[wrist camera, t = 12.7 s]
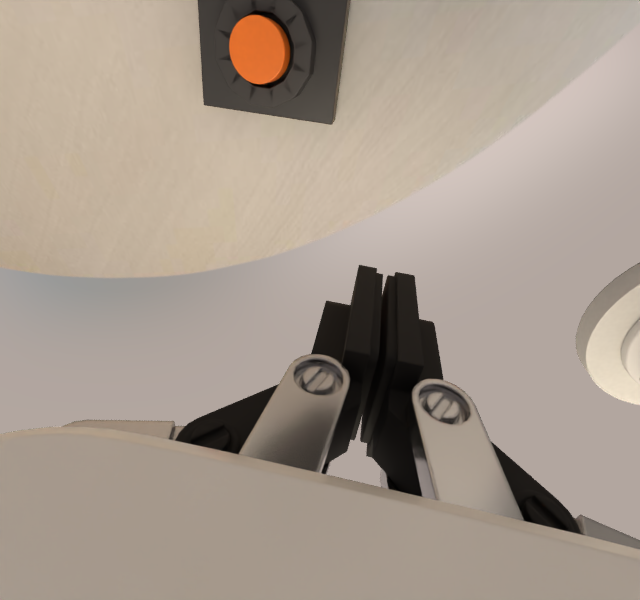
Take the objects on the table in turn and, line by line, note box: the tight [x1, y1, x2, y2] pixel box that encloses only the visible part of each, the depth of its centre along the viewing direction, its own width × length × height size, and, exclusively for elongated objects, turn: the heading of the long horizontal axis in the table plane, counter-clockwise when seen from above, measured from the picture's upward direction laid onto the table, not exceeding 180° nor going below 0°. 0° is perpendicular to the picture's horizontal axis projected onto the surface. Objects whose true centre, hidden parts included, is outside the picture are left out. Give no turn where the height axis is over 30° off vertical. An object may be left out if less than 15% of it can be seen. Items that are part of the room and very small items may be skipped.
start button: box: [229, 15, 290, 84], centre depth 23 cm, size 4×4×2 cm
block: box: [198, 0, 350, 124], centre depth 26 cm, size 10×8×4 cm
